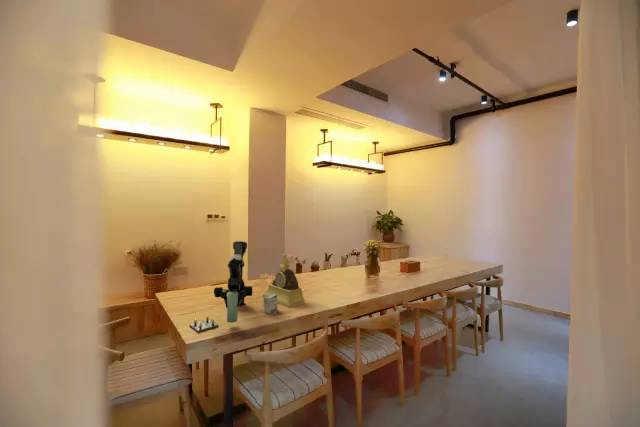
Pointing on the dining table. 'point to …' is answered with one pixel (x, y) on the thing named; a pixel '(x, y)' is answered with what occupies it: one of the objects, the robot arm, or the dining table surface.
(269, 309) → the medicine box
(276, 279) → the decorative clock
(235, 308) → the teal wooden post
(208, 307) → the dining table surface
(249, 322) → the dining table surface
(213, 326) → the plate
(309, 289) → the dining table surface
